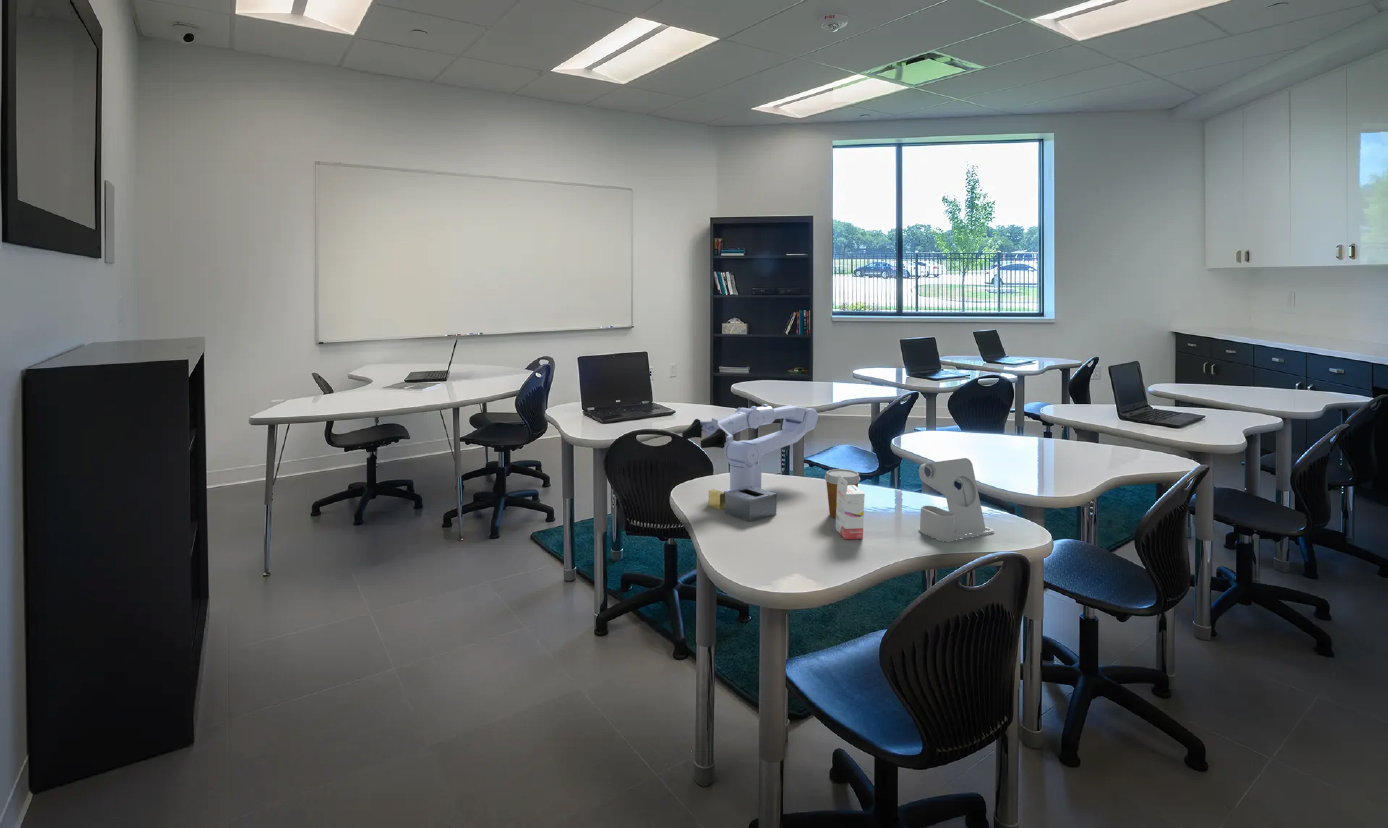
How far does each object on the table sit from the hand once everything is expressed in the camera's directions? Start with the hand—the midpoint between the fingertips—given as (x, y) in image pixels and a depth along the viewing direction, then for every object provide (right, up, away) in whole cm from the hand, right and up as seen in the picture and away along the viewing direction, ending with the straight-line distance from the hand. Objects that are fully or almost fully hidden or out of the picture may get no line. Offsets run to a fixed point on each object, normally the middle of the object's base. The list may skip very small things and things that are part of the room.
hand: (692, 440), depth 202 cm
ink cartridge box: (+40, -23, -21) cm, 51 cm away
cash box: (+16, -20, -4) cm, 26 cm away
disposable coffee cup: (+41, -21, -6) cm, 46 cm away
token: (+7, -19, +3) cm, 21 cm away
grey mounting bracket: (+67, -23, -20) cm, 74 cm away
